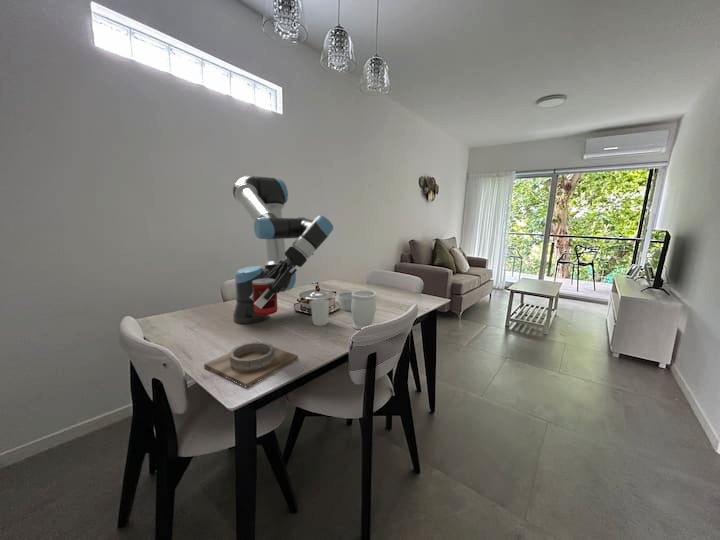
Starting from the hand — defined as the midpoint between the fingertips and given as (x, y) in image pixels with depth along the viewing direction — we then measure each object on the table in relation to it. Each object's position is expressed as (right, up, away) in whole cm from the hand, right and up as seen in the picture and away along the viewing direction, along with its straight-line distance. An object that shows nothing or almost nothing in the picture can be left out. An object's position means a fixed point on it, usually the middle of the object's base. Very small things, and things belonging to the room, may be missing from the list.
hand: (255, 303), depth 98 cm
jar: (+37, -14, +28) cm, 48 cm away
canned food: (+3, -3, +2) cm, 5 cm away
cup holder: (+1, -19, -5) cm, 19 cm away
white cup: (+18, -13, +32) cm, 38 cm away
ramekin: (+30, -9, +54) cm, 63 cm away
